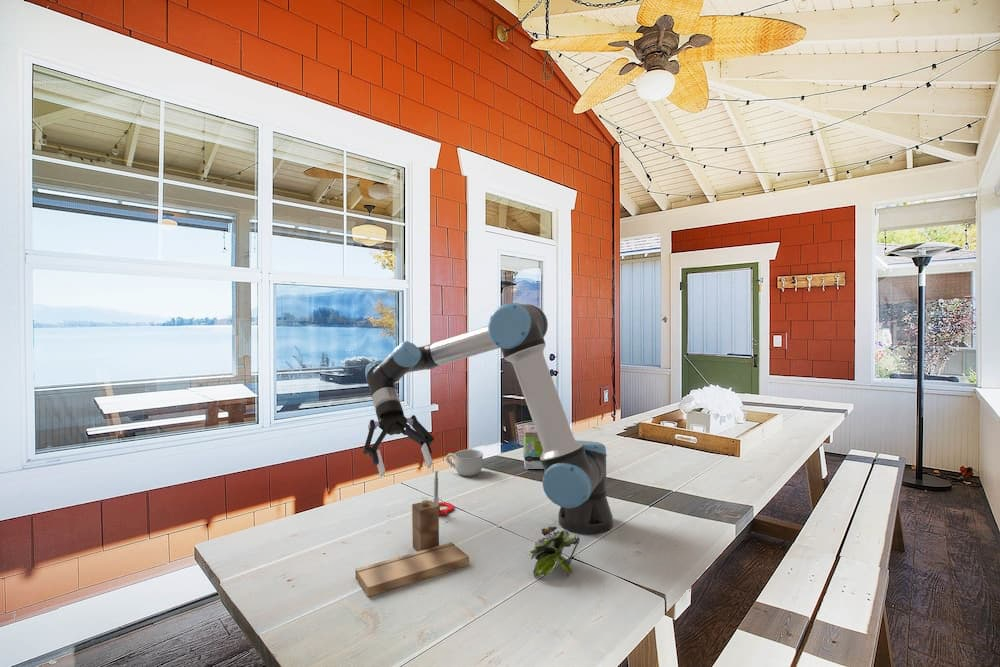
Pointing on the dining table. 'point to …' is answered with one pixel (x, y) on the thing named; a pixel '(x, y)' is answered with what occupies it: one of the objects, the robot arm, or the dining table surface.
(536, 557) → the passion flower
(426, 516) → the block
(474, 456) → the teacup
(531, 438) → the tea box
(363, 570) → the board
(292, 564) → the dining table surface
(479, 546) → the dining table surface
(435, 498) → the tow hook
